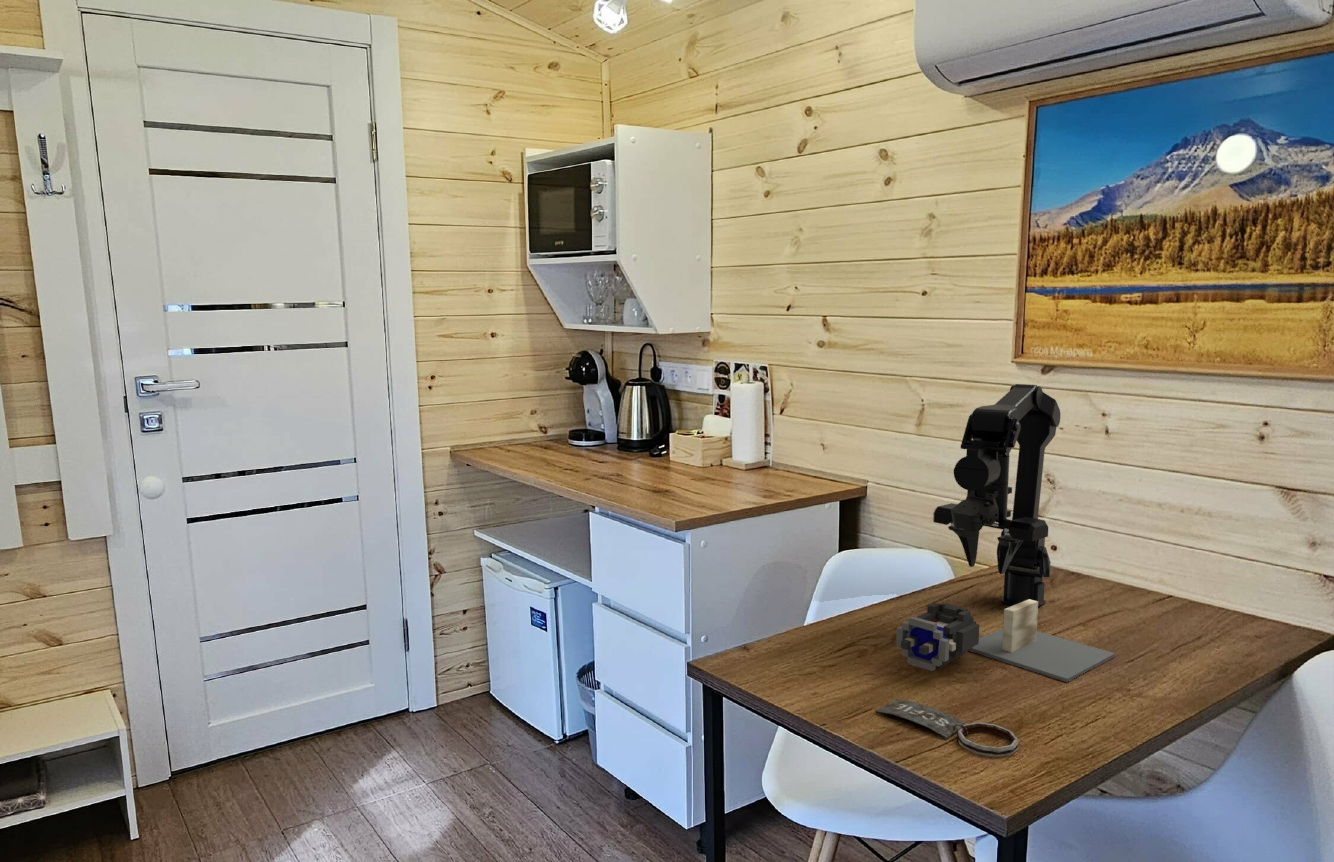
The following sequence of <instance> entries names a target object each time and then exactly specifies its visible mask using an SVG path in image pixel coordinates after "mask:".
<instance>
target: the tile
mask: <svg viewBox="0 0 1334 862" xmlns="http://www.w3.org/2000/svg"><path fill="white" fill-rule="evenodd" d="M1038 607H1039V606H1038V601H1035V600H1031V599H1028V600H1026V601H1023V602H1021V603H1018V604H1016V605H1010V606H1008V607H1007V608H1006V607H1005V608H1004V609H1003V626H1002V629H1003V642H1002V650H1005V651H1009V652H1013V651H1015V650H1018V649H1020V648H1022V647H1024V646H1026V645H1028V644H1031V643H1033V642H1035V641H1036V634H1037V631H1038V615H1039V614H1038V611H1039V608H1038Z"/></svg>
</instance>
